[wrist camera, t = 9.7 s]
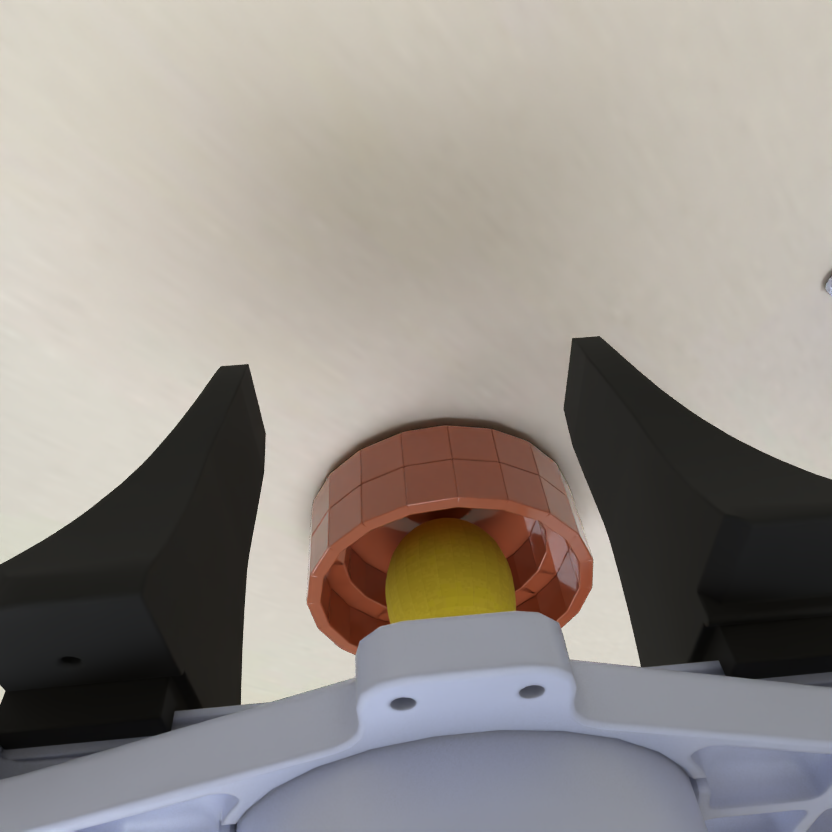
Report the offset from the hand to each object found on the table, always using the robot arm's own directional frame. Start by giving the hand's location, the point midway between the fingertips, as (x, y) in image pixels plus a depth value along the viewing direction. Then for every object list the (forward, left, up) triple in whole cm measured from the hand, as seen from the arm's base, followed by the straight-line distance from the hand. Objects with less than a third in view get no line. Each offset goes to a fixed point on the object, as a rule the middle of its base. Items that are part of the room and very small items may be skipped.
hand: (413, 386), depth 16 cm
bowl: (-9, +13, -10) cm, 19 cm away
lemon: (-9, +13, -10) cm, 19 cm away
